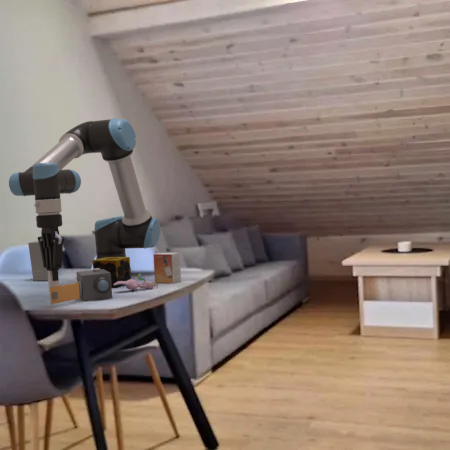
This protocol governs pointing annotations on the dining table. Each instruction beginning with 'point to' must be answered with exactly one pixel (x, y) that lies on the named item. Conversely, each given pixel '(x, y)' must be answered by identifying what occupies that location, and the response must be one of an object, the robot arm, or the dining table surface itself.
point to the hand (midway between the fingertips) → (54, 291)
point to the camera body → (95, 284)
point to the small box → (167, 267)
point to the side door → (66, 292)
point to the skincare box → (37, 262)
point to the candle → (115, 268)
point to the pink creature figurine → (134, 285)
